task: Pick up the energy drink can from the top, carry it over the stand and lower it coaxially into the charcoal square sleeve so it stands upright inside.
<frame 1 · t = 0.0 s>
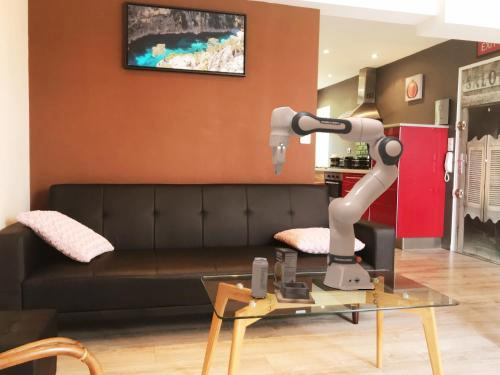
hand: (277, 174, 191), 48 cm above the table, tool pointing down, fingers open, 8 cm apart
can stand: (293, 297, 170), on the table
energy drink can: (258, 297, 168), on the table
coffee box: (283, 287, 186), on the table
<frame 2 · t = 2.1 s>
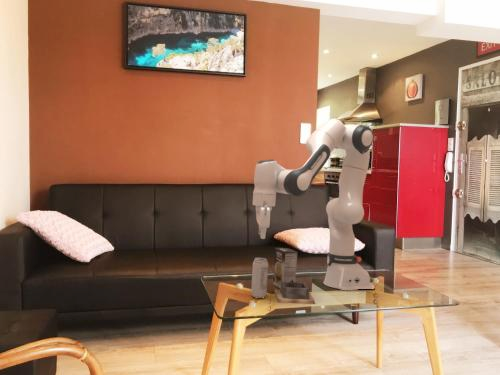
hand: (261, 236, 167), 24 cm above the table, tool pointing down, fingers open, 8 cm apart
nothing on the table moved.
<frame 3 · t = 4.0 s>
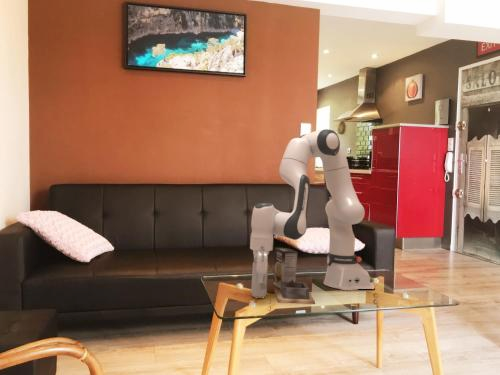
hand: (259, 280, 168), 7 cm above the table, tool pointing down, fingers closed on energy drink can, 6 cm apart
energy drink can: (258, 297, 168), on the table, touching gripper
everything else where it was.
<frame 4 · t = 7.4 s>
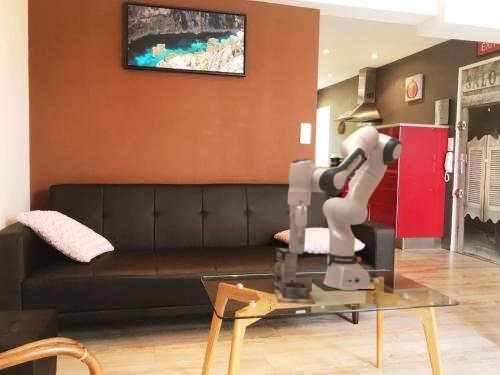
hand: (297, 235, 169), 25 cm above the table, tool pointing down, fingers closed on energy drink can, 6 cm apart
energy drink can: (296, 253, 169), point 18 cm above the table, touching gripper
everything else where it was.
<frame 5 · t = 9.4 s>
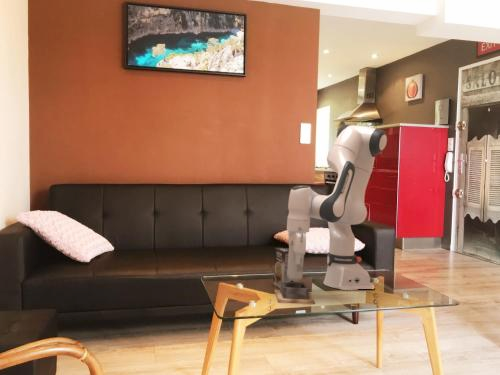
hand: (295, 261, 169), 14 cm above the table, tool pointing down, fingers closed on energy drink can, 6 cm apart
energy drink can: (294, 279, 169), point 7 cm above the table, touching gripper
everything else where it was.
when the fingers open (9 cm above the table, at t = 11.0 s): energy drink can stays where it is, resting on can stand.
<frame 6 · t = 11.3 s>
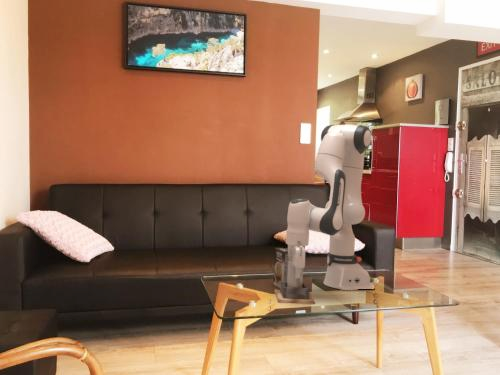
hand: (295, 274, 169), 9 cm above the table, tool pointing down, fingers open, 8 cm apart
energy drink can: (294, 295, 170), point 1 cm above the table, touching can stand
everything else where it was.
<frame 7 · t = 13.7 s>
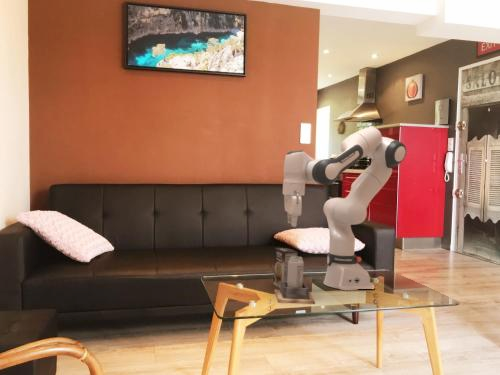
hand: (291, 224, 174), 28 cm above the table, tool pointing down, fingers open, 8 cm apart
nothing on the table moved.
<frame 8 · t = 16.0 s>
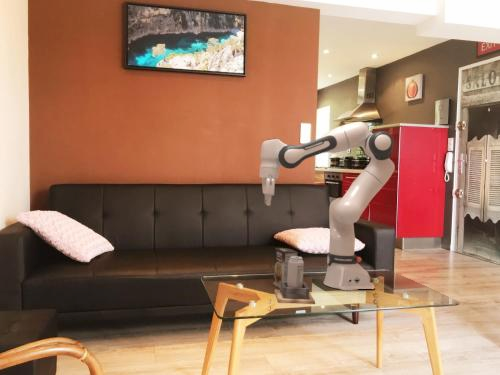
hand: (267, 204, 196), 34 cm above the table, tool pointing down, fingers open, 8 cm apart
nothing on the table moved.
at the end: energy drink can 0.1 cm off-centre on the can stand, point 0.8 cm above the can stand's base; energy drink can tilted 0°; the gripper is holding nothing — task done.
